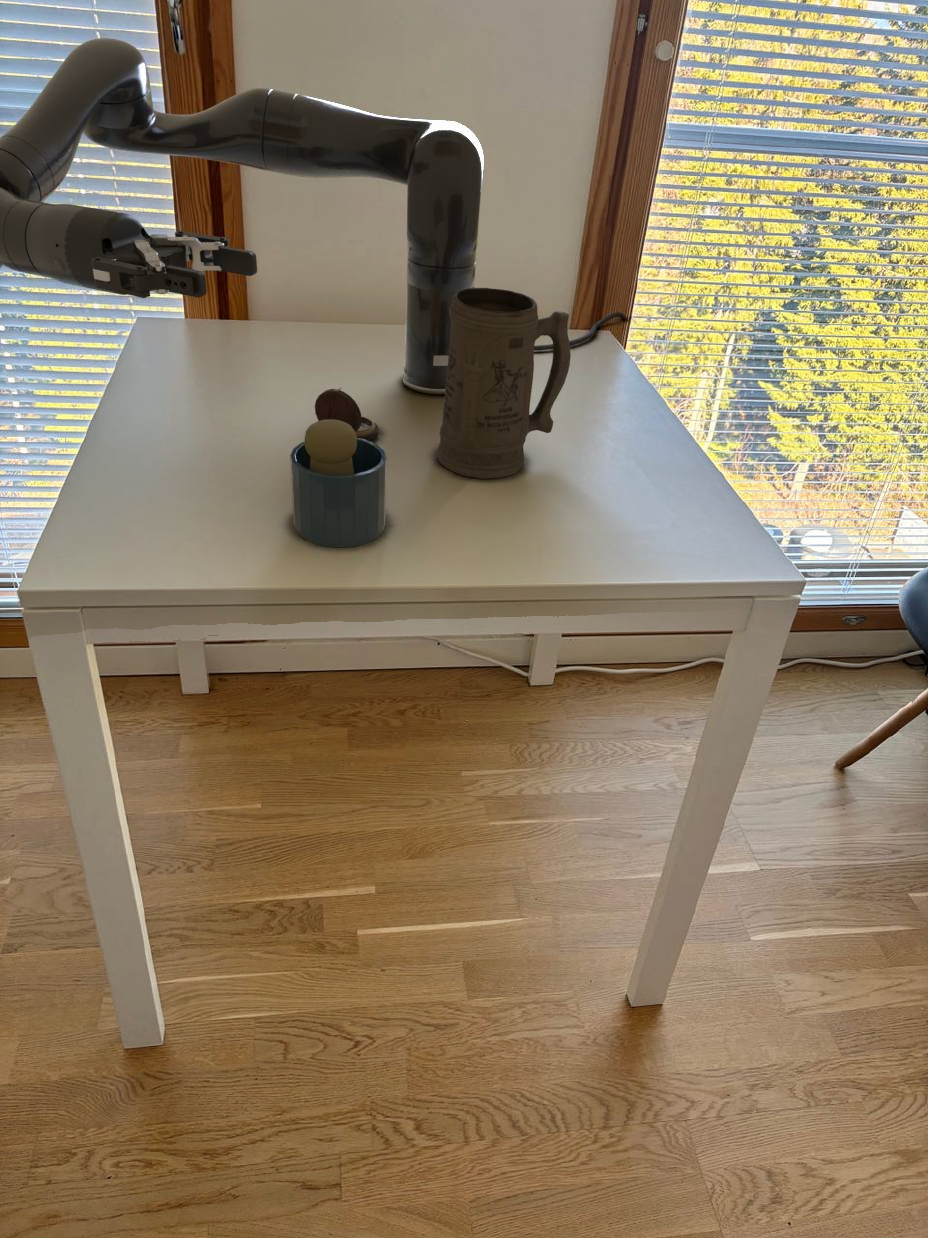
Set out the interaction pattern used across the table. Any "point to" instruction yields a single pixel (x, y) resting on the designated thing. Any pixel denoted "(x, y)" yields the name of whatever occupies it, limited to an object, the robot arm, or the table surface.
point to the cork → (331, 447)
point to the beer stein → (496, 380)
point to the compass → (344, 412)
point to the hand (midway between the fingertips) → (230, 274)
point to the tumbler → (340, 498)
